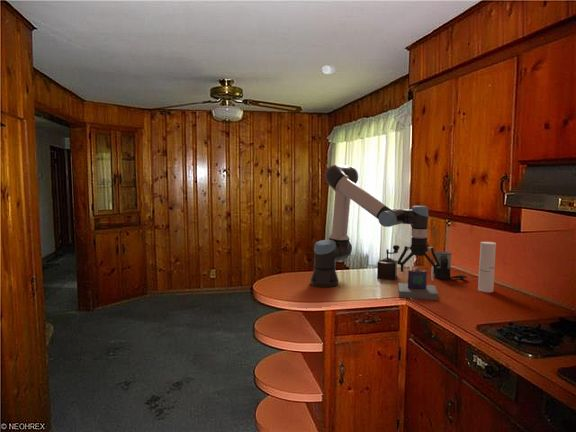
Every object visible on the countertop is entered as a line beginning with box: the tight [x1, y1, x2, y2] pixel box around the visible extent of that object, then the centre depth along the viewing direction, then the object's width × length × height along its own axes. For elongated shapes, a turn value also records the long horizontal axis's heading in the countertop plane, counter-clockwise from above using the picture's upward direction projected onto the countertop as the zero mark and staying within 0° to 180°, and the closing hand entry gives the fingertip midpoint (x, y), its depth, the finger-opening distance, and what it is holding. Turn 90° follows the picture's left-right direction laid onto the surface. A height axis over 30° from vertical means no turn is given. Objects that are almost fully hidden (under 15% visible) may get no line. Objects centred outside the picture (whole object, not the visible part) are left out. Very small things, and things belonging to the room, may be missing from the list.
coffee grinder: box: [376, 244, 401, 281], centre depth 237 cm, size 16×11×18 cm
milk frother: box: [433, 251, 467, 280], centre depth 232 cm, size 14×16×15 cm
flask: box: [407, 266, 428, 289], centre depth 202 cm, size 9×3×11 cm, turn 88°
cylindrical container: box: [477, 241, 497, 293], centre depth 208 cm, size 7×7×25 cm
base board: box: [397, 282, 439, 301], centre depth 203 cm, size 18×15×3 cm
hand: (417, 279), depth 202 cm, fingers open, 13 cm apart
